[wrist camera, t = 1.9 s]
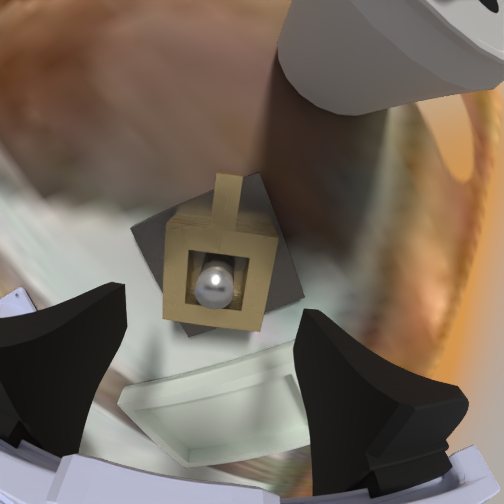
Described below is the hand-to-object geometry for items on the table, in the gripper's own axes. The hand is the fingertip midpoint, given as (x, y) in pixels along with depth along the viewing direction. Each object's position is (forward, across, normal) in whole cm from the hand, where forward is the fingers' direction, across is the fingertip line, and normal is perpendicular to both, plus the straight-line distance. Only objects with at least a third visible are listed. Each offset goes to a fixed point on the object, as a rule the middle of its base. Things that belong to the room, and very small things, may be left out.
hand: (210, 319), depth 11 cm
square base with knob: (+7, 0, 0) cm, 7 cm away
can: (+7, -5, -13) cm, 16 cm away
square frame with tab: (+6, 0, -1) cm, 6 cm away
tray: (+7, -2, +14) cm, 16 cm away
